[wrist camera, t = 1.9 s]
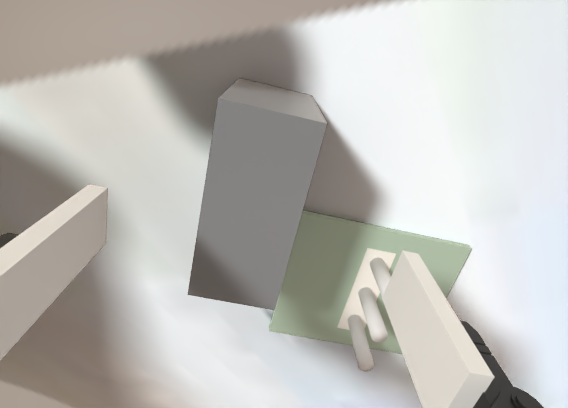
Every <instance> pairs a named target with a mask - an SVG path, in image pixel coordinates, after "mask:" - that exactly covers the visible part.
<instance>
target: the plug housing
mask: <svg viewBox="0 0 568 408" xmlns="http://www.w3.org/2000/svg"><path fill="white" fill-rule="evenodd" d="M326 127H327V122H326V120H325V118H324V116H323V115H322V113H321V111H320V109H319V107H318V106H317V104H316V102H315V100H314V98H313V97H312V95H308V94H304V93H299V92H295V91H291V90H287V89H283V88H279V87H275V86H271V85H267V84H262V83H258V82H254V81H250V80H246V79H242V78H239V79H238V80H237V81H236V82H234V83H233V84H232V85H231V86H230V87H229V88H228V89H227V90H226V91H225V92H224V93H223V94H222V95H221V96H220V97H218V102H217V109H216V115H215V122H214V128H213V134H212V141H211V147H210V154H209V160H208V167H207V173H206V180H205V186H204V193H203V199H202V206H201V212H200V218H199V225H198V231H197V238H196V244H195V251H194V257H193V264H192V270H191V277H190V283H189V290H188V295H192V296H198V297H204V298H209V299H215V300H220V301H226V302H232V303H237V304H243V305H248V306H254V307H260V308H265V309H271V310H275V307H276V304H277V300H278V297H279V293H280V290H281V286H282V282H283V279H284V275H285V272H286V268H287V265H288V261H289V258H290V254H291V251H292V247H293V244H294V240H295V237H296V233H297V229H298V226H299V222H300V219H301V215H302V212H303V208H304V205H305V201H306V198H307V194H308V191H309V187H310V184H311V180H312V176H313V173H314V169H315V166H316V162H317V159H318V155H319V152H320V148H321V145H322V141H323V138H324V134H325V131H326Z"/></svg>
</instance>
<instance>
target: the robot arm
mask: <svg viewBox="0 0 568 408" xmlns="http://www.w3.org/2000/svg"><path fill="white" fill-rule="evenodd" d="M107 196H108V188H106V187H101V186H96V185H91V184H89V185H87V186H86V187H84V188H83V189H82V190H80V191H79V192H78V193H76V194H75V195H73V196H72V197H71V198H69V199H68V200H66V201H65V202H64V203H62V204H61V205H60V206H58V207H57V208H55V209H54V210H53V211H51V212H50V213H49V214H47V215H46V216H44V217H43V218H42V219H40V220H39V221H37V222H36V223H35V224H33V225H32V226H31V227H29V228H28V229H26V230H25V231H24V232H22V233H21V234H20V235H17V234H12V233H7V234H4V235H2V236H0V361H1V360H2V358H3V357H4V356H5V355H6V354H7V353H8V352H9V351H10V350H11V348H12V347H13V346H14V345H15V344H16V343H17V342H18V341H19V339H20V338H21V337H22V336H23V335H24V334H25V333H26V332H27V331H28V329H29V328H30V327H31V326H32V325H33V324H34V323H35V322H36V321H37V319H38V318H39V317H40V316H41V315H42V314H43V313H44V312H45V310H46V309H47V308H48V307H49V306H50V305H51V304H52V303H53V302H54V300H55V299H56V298H57V297H58V296H59V295H60V294H61V293H62V291H63V290H64V289H65V288H66V287H67V286H68V285H69V284H70V283H71V281H72V280H73V279H74V278H75V277H76V276H77V275H78V274H79V273H80V271H81V270H82V269H83V268H84V267H85V266H86V265H87V264H88V262H89V261H90V260H91V259H92V258H93V257H94V256H95V255H96V254H97V252H98V251H99V250H100V249H101V248H102V247H103V246H104V245H105V244H106V223H107ZM382 300H383V302H384V305H385V308H386V310H387V313H388V316H389V319H390V321H391V324H392V327H393V329H394V332H395V335H396V337H397V340H398V343H399V346H400V348H401V351H402V354H403V356H404V359H405V362H406V365H407V367H408V370H409V373H410V375H411V378H412V381H413V384H414V386H415V389H416V392H417V394H418V397H419V400H420V403H421V405H422V408H543V407H542V405H541V404H540V403H539V402H538V401H537V400H536V399H534V398H533V397H532V396H531V395H529V394H528V393H526V392H524V391H522V390H521V389H519V388H515V387H513V386H512V384H511V383H510V381H509V379H508V378H507V376H506V375H505V373H504V372H503V370H502V369H501V367H500V366H499V364H498V363H497V361H496V360H495V358H494V357H493V356H492V355H491V354H492V353H491V352H490V350H489V349H488V347H487V346H485V343H484V341H483V340H482V338H481V337H480V335H479V334H478V332H477V331H476V330H474V329H473V328H472V327H471V326H470V325H469V324H468V323H467V322H464V321H460V320H459V319H458V317H457V315H456V314H455V312H454V311H453V309H452V307H451V306H450V304H449V303H448V301H447V299H446V298H445V296H444V294H443V293H442V291H441V290H440V288H439V286H438V285H437V283H436V281H435V280H434V278H433V277H432V275H431V273H430V272H429V270H428V268H427V267H426V265H425V264H424V262H423V260H422V259H421V257H420V255H419V254H417V253H413V252H408V251H403V250H402V253H401V255H400V257H399V260H398V262H397V264H396V267H395V269H394V271H393V274H392V276H391V278H390V281H389V283H388V285H387V288H386V290H385V292H384V295H383V297H382Z"/></svg>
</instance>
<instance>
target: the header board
mask: <svg viewBox="0 0 568 408" xmlns="http://www.w3.org/2000/svg"><path fill="white" fill-rule="evenodd" d="M471 249H472V248H471V247H470V246H469V245H466V244H461V243H457V242H452V241H447V240H442V239H438V238H433V237H428V236H423V235H418V234H414V233H409V232H404V231H399V230H395V229H390V228H385V227H380V226H375V225H371V224H366V223H361V222H356V221H352V220H347V219H342V218H337V217H333V216H328V215H323V214H318V213H313V212H309V211H304V210H303V212H302V215H301V219H300V222H299V226H298V229H297V233H296V237H295V240H294V244H293V247H292V251H291V254H290V258H289V261H288V265H287V268H286V272H285V275H284V279H283V282H282V286H281V290H280V293H279V297H278V300H277V304H276V307H275V310H274V312H273V316H272V319H271V323H270V326H269V331H272V332H278V333H283V334H289V335H295V336H301V337H307V338H312V339H318V340H324V341H330V342H335V343H341V344H347V345H353V346H354V350H355V354H356V358H357V363H358V367H359V369H360V370H362V371H369V370H371V369H373V367H374V361H373V358H372V355H371V351H370V349H376V350H382V351H388V352H393V353H399V354H402V351H401V348H400V346H399V343H398V340H397V337H396V335H395V332H394V329H393V327H392V324H391V321H390V319H389V316H388V313H387V310H386V308H385V305H384V302H383V300H382V297H383V295H384V292H385V290H386V288H387V285H388V283H389V281H390V278H391V276H392V274H393V271H394V269H395V267H396V264H397V262H398V260H399V257H400V255H401V253H402V250H403V251H408V252H413V253H417V254H419V255H420V257H421V259H422V260H423V262H424V264H425V265H426V267H427V268H428V270H429V272H430V273H431V275H432V277H433V278H434V280H435V281H436V283H437V285H438V286H439V288H440V290H441V291H442V293H443V294H444V296H445V298H446V297H447V295H448V294H449V292H450V290H451V288H452V286H453V284H454V282H455V280H456V278H457V276H458V274H459V272H460V270H461V269H462V267H463V265H464V263H465V261H466V259H467V257H468V255H469V253H470V251H471Z"/></svg>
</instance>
